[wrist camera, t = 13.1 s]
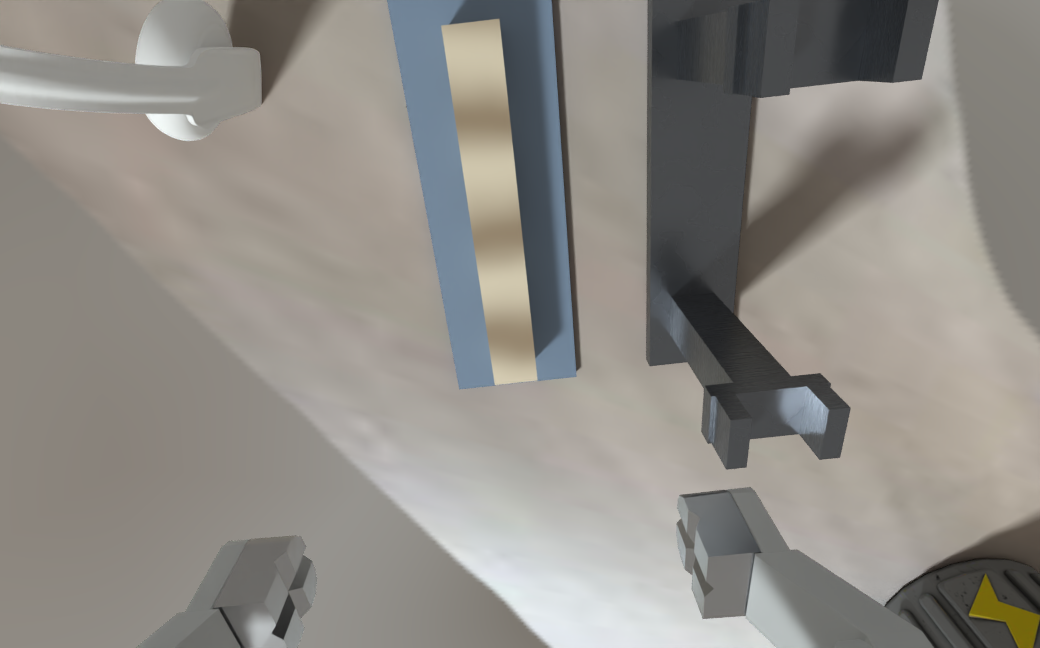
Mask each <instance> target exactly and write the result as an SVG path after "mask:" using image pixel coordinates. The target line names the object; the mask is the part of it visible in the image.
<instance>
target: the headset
mask: <svg viewBox="0 0 1040 648" xmlns="http://www.w3.org/2000/svg"><path fill="white" fill-rule="evenodd" d="M0 103H2V104H10V105H18V106H27V107H36V108H46V109H57V110H70V111H84V112H103V113H132V114H146V115H147V117H148V118H149V119H150V121H151V122H152V123H153V124H154V125H155V126H156V127H157V128H158V129H159V130H160V131H162V132H163V133H165V134H167V135H169V136H170V137H173V138H176V139H179V140H184V141H195V140H200V139H202V138H205V137H207V136H208V135H210V134H211V133H212V132H213V131H214V130H215V129H216V128H217V126H218V125H219V124H220V122H221V121H224V120H227V119H230V118H233V117H236V116H239V115H242V114H245V113H248V112H250V111H253V110H255V109H257V108H259V107H260V106H261V104H262V79H261V61H260V53H259V52H258V51H257V50H256V49H253V48H247V47H233V46H232V41H231V37H230V33H229V31H228V28H227V26H226V23H225V21H224V20H223V18H222V17H221V16H220V14H219V13H218V12H217V11H216V10H215V9H214V8H213V7H212V6H210V5H209V4H208V3H206V2H204V1H203V0H162V1H160V2H159V3H158V4H157V5H156V6H155V7H154V8H153V9H152V10H151V12H150V13H149V15H148V17H147V18H146V20H145V22H144V24H143V27H142V29H141V32H140V36H139V39H138V44H137V49H136V58H135V64H132V63H122V62H112V61H103V60H95V59H87V58H79V57H72V56H65V55H58V54H51V53H45V52H38V51H32V50H26V49H20V48H15V47H9V46H4V45H0Z"/></svg>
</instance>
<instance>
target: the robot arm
mask: <svg viewBox="0 0 1040 648" xmlns="http://www.w3.org/2000/svg"><path fill="white" fill-rule="evenodd" d="M677 509H678V511H679V514H680V517H681V519H680V520H679V521H678V522H677V542H678V549H679V553H680V556H681V560H682V563H683V566H684V568H685V570H686V571H688V572H689V573H690V574H691V575H693V576H692V591H693V593H694V596H695V599H696V601H697V604H698V607H699V609H700V612H701V615H702V618H703V619H708V618H722V617H736V616H746V619H747V620H748V621H749V622H750V623H751V624H752V625H753V626H754V627H755V628H756V629H757V630H758V631H760V632H761V633H762V634H763V635H764V636H765V637H766V638H767V639H768V640H769V641H770V642H771V643H772V644H773V645H774V646H775V647H776V648H934V647H933V646H932V644H931V643H930V642H929V640H928V639H927V638H926V636H925V635H924V633H923V632H922V631H921V630H919V629H918V628H916V627H915V626H913V625H912V624H910V623H909V622H907V621H906V620H904V619H902V618H901V617H899V616H898V615H896V614H895V613H893V612H892V611H890V610H889V609H887V608H886V607H884V606H883V605H881V604H880V603H878V602H877V601H875V600H874V599H872V598H871V597H869V596H867V595H866V594H864V593H863V592H861V591H860V590H858V589H857V588H855V587H854V586H852V585H851V584H849V583H848V582H846V581H845V580H843V579H842V578H840V577H839V576H837V575H835V574H834V573H832V572H831V571H829V570H828V569H826V568H825V567H823V566H822V565H820V564H819V563H817V562H816V561H814V560H813V559H811V558H810V557H808V556H807V555H805V554H804V553H802V552H800V551H799V550H790V549H789V547H788V546H787V544H786V542H785V541H784V539H783V537H782V536H781V534H780V532H779V531H778V529H777V527H776V526H775V524H774V522H773V521H772V519H771V517H770V515H769V514H768V512H767V510H766V509H765V507H764V505H763V504H762V502H761V500H760V499H759V497H758V495H757V494H756V492H755V490H753V489H752V488H751V487H747V488H738V489H729V490H719V491H710V492H701V493H693V494H684V495H679V498H678V505H677ZM305 549H306V545H305V543H304V541H303V539H302V537H301V536H284V537H271V538H258V539H250V540H238V541H229V542H227V543H226V544H225V545H224V546H222V547H221V549H220V551H219V552H218V554H217V556H216V558H215V560H214V561H213V563H212V565H211V567H210V568H209V570H208V572H207V574H206V576H205V577H204V579H203V581H202V583H201V584H200V586H199V588H198V590H197V592H196V593H195V595H194V597H193V599H192V600H191V602H190V604H189V606H188V608H187V609H186V611H185V612H181V613H177V614H176V615H175V616H174V617H172V618H171V619H170V620H169V621H167V622H166V623H165V624H164V625H163V626H161V627H160V628H159V629H158V630H157V631H155V632H154V633H153V634H152V635H150V636H149V637H148V638H147V639H146V640H144V641H143V642H142V643H141V644H140V645H138V646H137V647H136V648H298V646H299V642H300V639H301V637H302V634H303V631H304V626H303V623H302V621H301V618H302V616H303V615H304V614H305V613H306V612H307V611H308V610H309V609H310V608H311V607H312V603H313V601H314V597H315V594H316V584H317V577H316V570H315V567H314V564H313V562H312V561H311V560H310V559H308V558H307V557H305V556H304V555H303V554H304V551H305Z"/></svg>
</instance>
